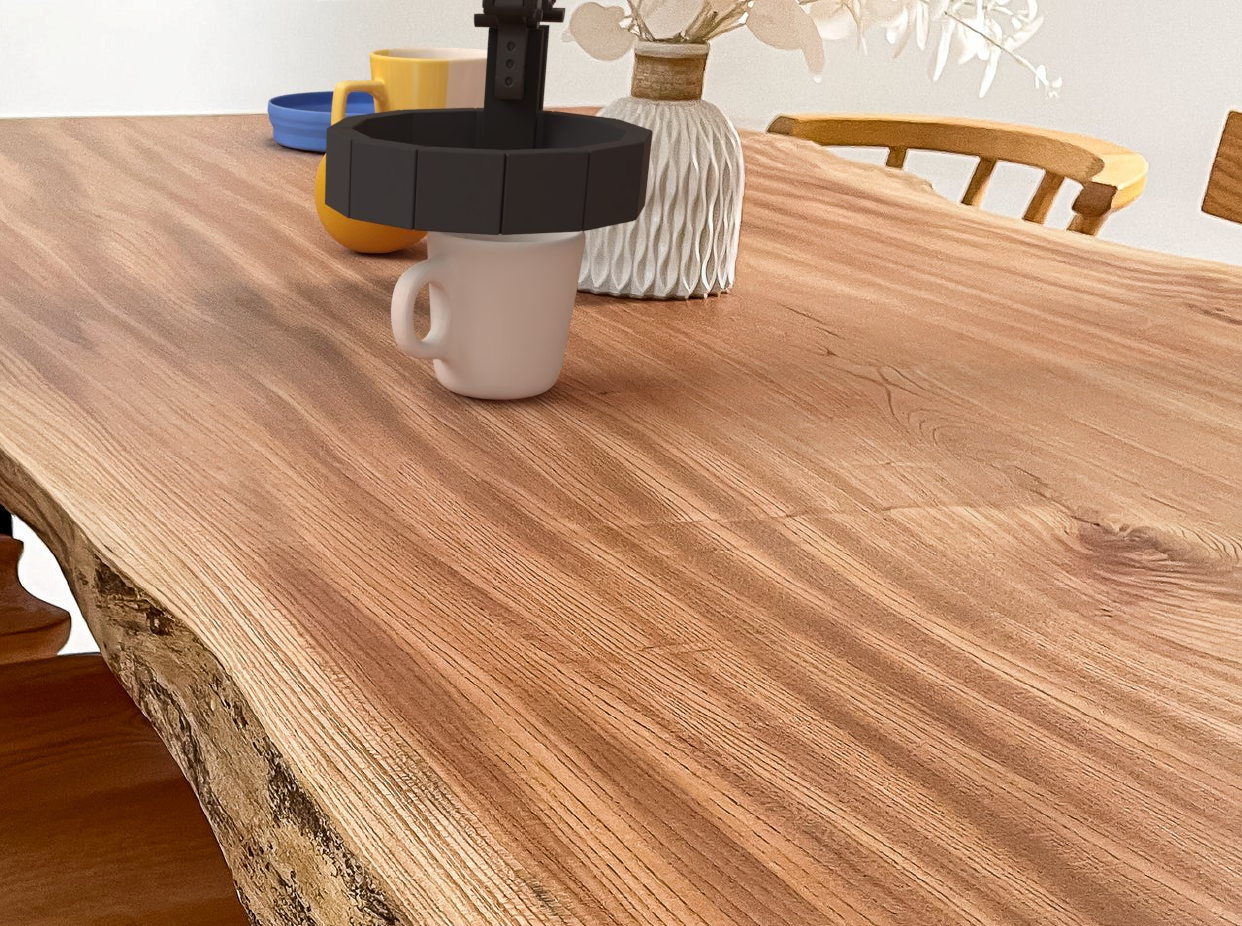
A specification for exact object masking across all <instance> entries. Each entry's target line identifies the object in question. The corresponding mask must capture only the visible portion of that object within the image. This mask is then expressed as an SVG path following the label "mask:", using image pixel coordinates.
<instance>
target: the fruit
mask: <svg viewBox="0 0 1242 926" xmlns="http://www.w3.org/2000/svg"><path fill="white" fill-rule="evenodd" d="M325 176H326V153H325V154H324V155H323V157H322V159H321V160H320V162H319V164H318V167H317V170H316V174H315V180H314V204H315V208H316V212H317V215H318V218H319V221H320V223H321V225H322V226H323V228H324V230H325V231H326V232H327V233H328V234H329V236H331V238H332V239H333V240H334V241H335V242H337V243H338V244H340V245H341V246H342V247H344V248H347V249H348V250H350V251H352V252H353V251H354V252H357V253H361V254H362V253H364V254H388V253H394V252H397V251H400V250H402V249H405V248H408V247H410V246H412V245H415V244H417V243H419V242H420V241H421V240H423V239H424V238H425V237H427V232H428V231H416V230H415V229H414V230H409V229H403V228H398V227H392V226H387V225H381V224H376V223H370V222H365V221H359V220H354V219H351V218H347V217H345V216H344V215H342V214H340V213H339V212H337V211H335V210H334V209H332V208H330V207H329V206H327V205H326V204H325Z"/></svg>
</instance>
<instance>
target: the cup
mask: <svg viewBox="0 0 1242 926" xmlns="http://www.w3.org/2000/svg"><path fill="white" fill-rule="evenodd" d="M586 240H587V237H586V231H580V232H563V233H540V234H517V235H502V234H499V235H486V234H468V233H450V232H433V231H428V232H427V235H426V251H427V259H424V260H421V261H419V262H416V263H414V264H413V265H411V266H410V267H408V268H407V269H405V270H404V272H403V273H402V274H401V275H400V276H399V278H398V280H397V281H396V284H395V286H394V289H393V292H392V297H391V305H390V320H391V321H390V322H391V328H392V329H391V330H392V334H393V337H394V341H395V342H396V344H397V346H398V348H399V349H400V351H402V352H403V353H404V354H405V355H407V356H409V357H411V358H414V359H417V360H422V361H423V360H424V361H428V360H429V361H430V360H432V365H433V370H434V373H435V376H436V378H437V380H438V382H439V383H440V384H441V385H442V386H443V387H444V388H445V389H447V390H448V391H450V392H453V393H455V394H457V395H461V396H465V397H470V398H475V399H483V400H500V401H501V400H518V399H519V400H520V399H526V398H532V397H535V396H538V395H541V394H544V393H546V392H547V391H549V390H550V389H551V388H553V387H554V385H555V384H556V383H557V381H558V379H559V377H560V374H561V371H562V368H563V365H564V360H565V356H566V350H567V346H568V341H569V340H568V339H569V335H570V330H571V324H572V323H571V322H572V319H573V313H574V307H575V303H576V296H577V291H578V285H579V281H580V276H581V275H580V274H581V269H582V263H583V258H584V253H585V248H586V242H587V241H586ZM426 285H428V291H429V292H428V293H429V294H428V295H429V315H430V316H429V318H430V329H429V331H428V333H427V335H426V336H425V337H424V338H423V339H421V340H419V338H418V336H417V334H416V331H415V324H414V312H415V306H416V305H415V304H416V300H417V298H418V295H419V293H420V291H421V290H422V289H423V288H424V286H426Z"/></svg>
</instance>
